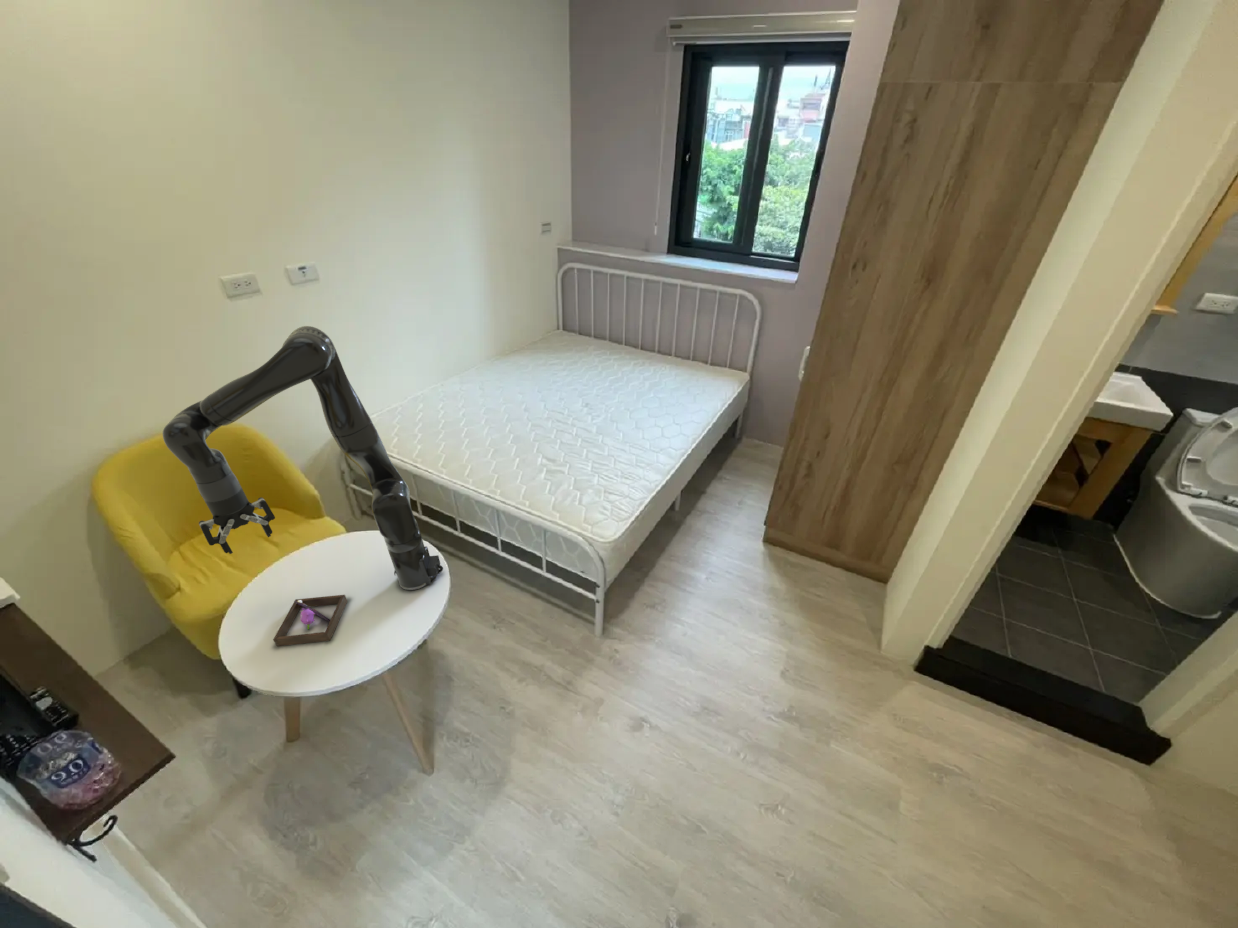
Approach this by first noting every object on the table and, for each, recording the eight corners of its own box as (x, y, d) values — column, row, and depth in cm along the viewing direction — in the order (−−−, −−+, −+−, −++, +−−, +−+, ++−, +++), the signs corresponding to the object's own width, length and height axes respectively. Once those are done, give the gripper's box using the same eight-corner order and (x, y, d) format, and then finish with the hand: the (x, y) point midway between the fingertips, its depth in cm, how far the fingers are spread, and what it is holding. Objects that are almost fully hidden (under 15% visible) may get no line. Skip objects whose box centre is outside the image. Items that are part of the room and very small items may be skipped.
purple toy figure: (319, 608, 131) (296, 597, 135) (304, 626, 129) (281, 615, 132) (334, 619, 136) (312, 608, 140) (320, 636, 134) (298, 625, 137)
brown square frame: (347, 601, 142) (344, 594, 141) (330, 640, 131) (327, 633, 130) (298, 605, 141) (295, 599, 140) (276, 646, 130) (272, 639, 128)
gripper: (189, 511, 113) (221, 565, 122) (260, 484, 122) (285, 536, 130) (181, 498, 117) (213, 551, 126) (251, 473, 126) (276, 524, 135)
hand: (250, 543), depth 128 cm, fingers open, 8 cm apart
